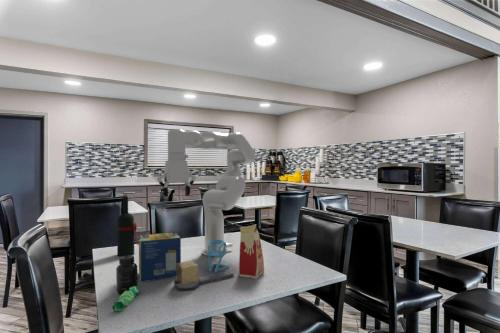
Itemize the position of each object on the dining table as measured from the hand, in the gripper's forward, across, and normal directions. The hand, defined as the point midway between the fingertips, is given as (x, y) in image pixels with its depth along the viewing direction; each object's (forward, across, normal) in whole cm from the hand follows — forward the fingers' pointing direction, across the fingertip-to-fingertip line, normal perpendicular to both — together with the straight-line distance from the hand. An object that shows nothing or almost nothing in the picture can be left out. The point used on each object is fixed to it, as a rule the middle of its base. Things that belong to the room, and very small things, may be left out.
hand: (176, 196), depth 132 cm
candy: (+31, +26, +28) cm, 49 cm away
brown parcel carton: (+28, +5, +25) cm, 38 cm away
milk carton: (+31, -21, +27) cm, 46 cm away
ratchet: (+30, -2, +25) cm, 39 cm away
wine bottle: (+31, +15, -29) cm, 45 cm away
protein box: (+31, +10, +8) cm, 33 cm away
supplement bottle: (+31, +24, +18) cm, 43 cm away
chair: (+31, -12, +15) cm, 36 cm away
